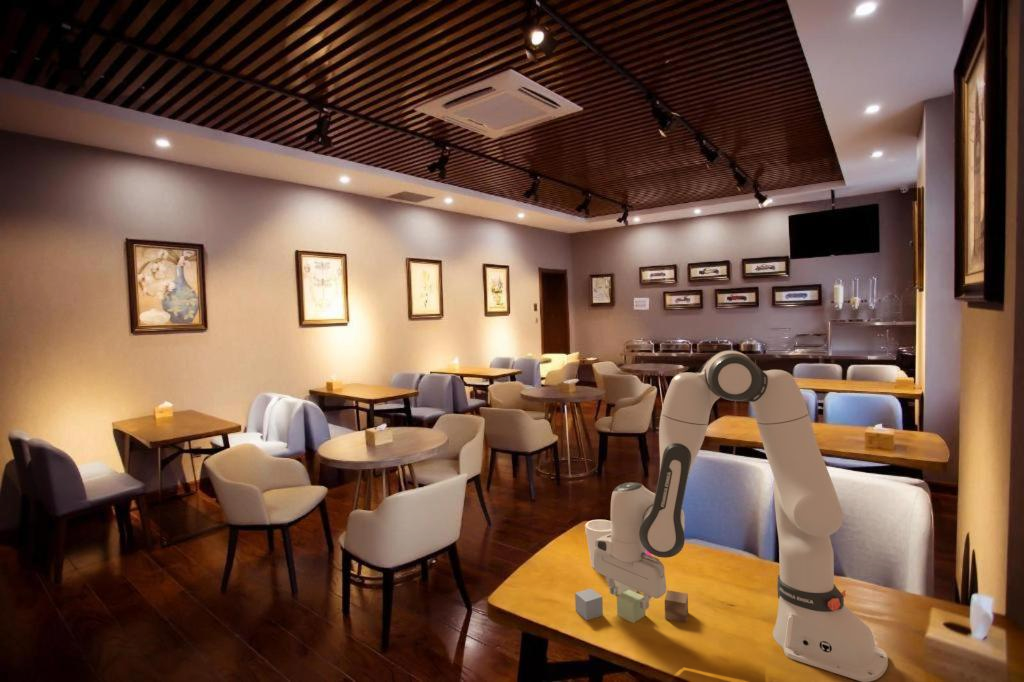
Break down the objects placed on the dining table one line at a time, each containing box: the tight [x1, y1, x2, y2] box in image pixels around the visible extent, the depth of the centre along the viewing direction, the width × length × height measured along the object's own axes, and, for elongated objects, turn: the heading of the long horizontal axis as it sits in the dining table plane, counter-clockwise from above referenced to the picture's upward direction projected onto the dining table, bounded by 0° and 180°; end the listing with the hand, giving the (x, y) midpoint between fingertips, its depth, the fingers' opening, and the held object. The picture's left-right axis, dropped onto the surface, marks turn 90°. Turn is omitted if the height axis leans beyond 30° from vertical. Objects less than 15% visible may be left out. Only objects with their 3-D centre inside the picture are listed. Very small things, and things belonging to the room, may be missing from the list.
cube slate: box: [574, 588, 604, 621], centre depth 139 cm, size 5×5×5 cm
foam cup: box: [584, 519, 612, 570], centre depth 164 cm, size 10×9×13 cm
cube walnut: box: [664, 589, 689, 624], centre depth 137 cm, size 5×5×5 cm
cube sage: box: [616, 590, 646, 624], centre depth 138 cm, size 5×5×5 cm
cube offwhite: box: [614, 580, 639, 596], centre depth 149 cm, size 5×5×5 cm
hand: (628, 600), depth 138 cm, fingers open, 8 cm apart
